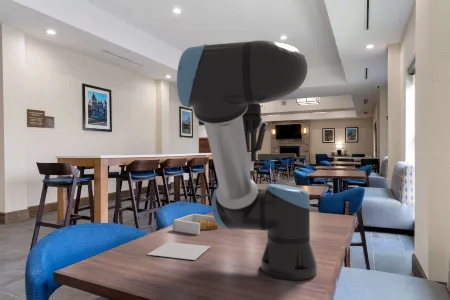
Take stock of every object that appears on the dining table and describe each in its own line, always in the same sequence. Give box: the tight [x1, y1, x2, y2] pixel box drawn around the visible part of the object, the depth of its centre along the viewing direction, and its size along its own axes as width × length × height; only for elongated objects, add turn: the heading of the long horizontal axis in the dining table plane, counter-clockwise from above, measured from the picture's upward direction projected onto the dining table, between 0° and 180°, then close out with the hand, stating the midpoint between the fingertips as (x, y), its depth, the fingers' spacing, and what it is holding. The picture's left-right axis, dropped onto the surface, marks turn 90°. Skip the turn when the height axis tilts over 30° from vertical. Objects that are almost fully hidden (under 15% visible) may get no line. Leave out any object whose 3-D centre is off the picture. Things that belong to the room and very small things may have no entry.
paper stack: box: [146, 241, 212, 261], centre depth 101 cm, size 23×25×1 cm
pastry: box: [197, 220, 219, 231], centre depth 128 cm, size 9×7×4 cm
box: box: [172, 213, 216, 236], centre depth 127 cm, size 15×13×4 cm
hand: (250, 170), depth 103 cm, fingers closed
